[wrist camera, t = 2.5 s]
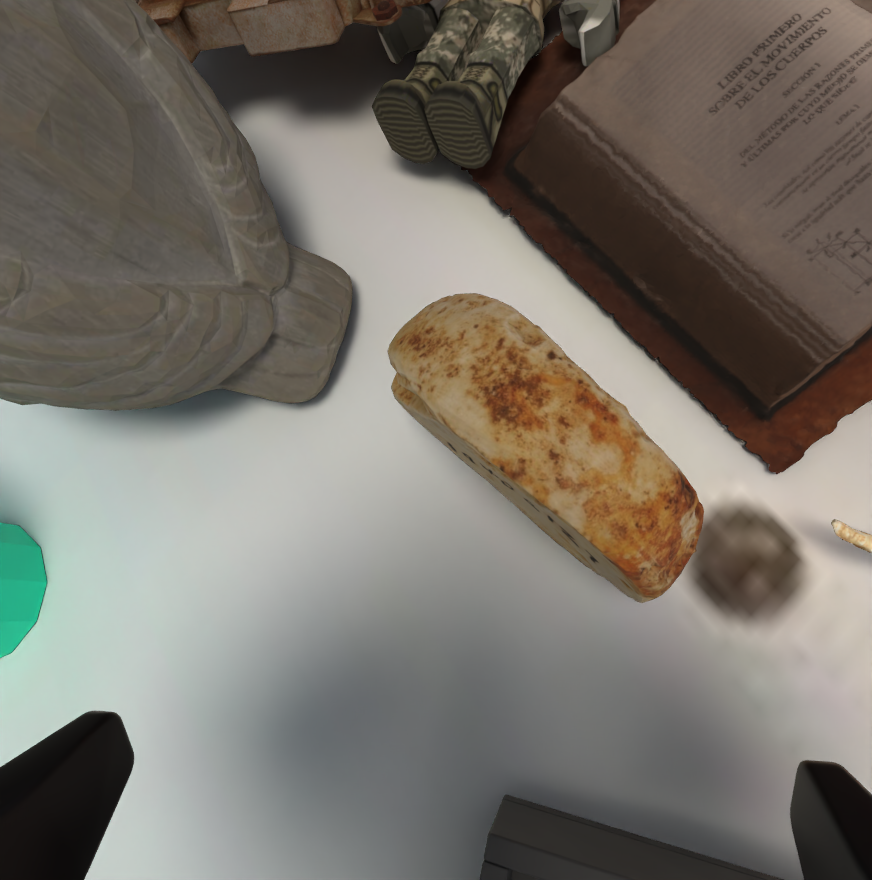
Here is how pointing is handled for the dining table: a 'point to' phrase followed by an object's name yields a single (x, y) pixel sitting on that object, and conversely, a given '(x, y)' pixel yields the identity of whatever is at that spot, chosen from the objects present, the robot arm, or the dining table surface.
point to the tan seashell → (853, 535)
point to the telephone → (265, 22)
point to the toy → (473, 69)
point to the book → (714, 199)
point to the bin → (588, 851)
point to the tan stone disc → (548, 440)
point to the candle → (19, 585)
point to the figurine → (141, 227)
